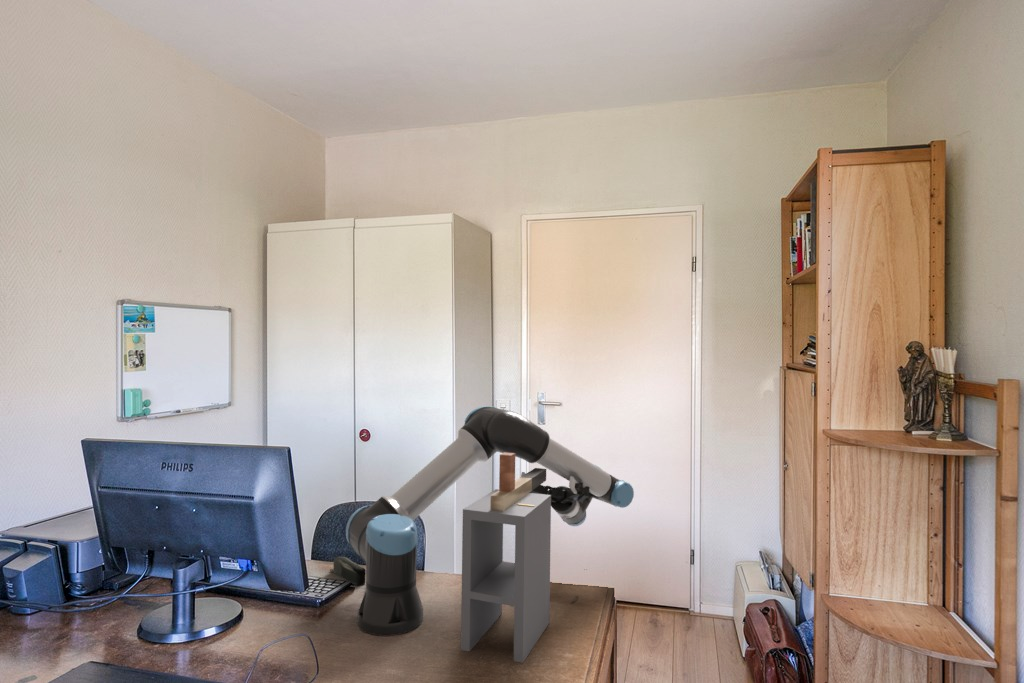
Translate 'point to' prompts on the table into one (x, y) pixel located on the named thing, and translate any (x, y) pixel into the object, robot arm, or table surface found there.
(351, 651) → the table surface
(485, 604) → the shelf
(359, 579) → the mobile phone
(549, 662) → the table surface
